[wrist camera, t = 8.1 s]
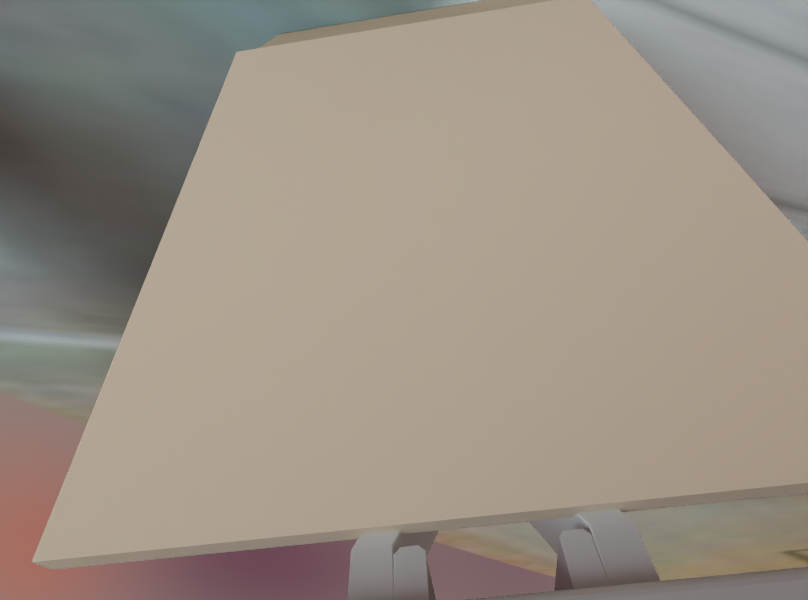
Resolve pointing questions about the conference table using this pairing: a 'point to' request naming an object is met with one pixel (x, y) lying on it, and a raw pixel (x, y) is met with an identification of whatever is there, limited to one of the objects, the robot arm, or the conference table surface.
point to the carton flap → (445, 303)
